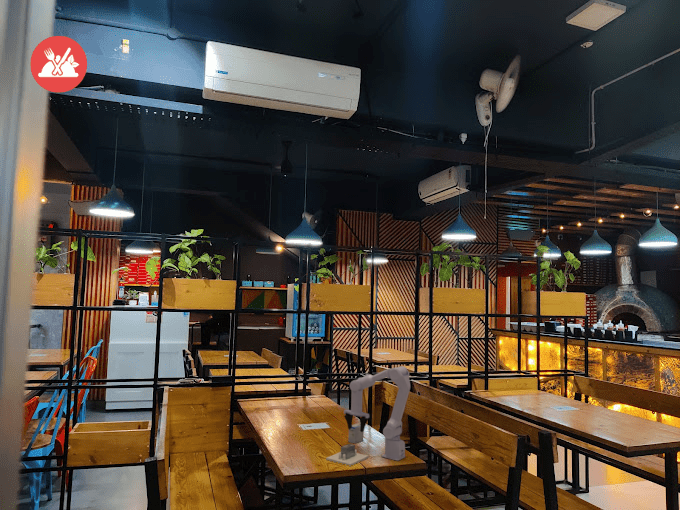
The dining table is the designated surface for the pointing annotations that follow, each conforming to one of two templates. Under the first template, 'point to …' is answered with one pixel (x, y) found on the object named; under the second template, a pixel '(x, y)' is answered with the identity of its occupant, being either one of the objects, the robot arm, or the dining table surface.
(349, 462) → the pin tray
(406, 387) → the robot arm
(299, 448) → the dining table surface
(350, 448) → the block
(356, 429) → the medicine box
